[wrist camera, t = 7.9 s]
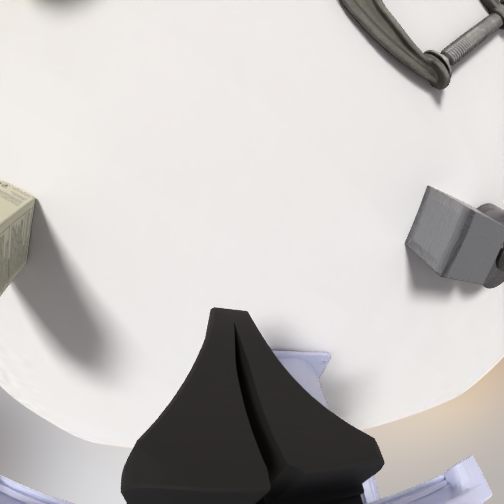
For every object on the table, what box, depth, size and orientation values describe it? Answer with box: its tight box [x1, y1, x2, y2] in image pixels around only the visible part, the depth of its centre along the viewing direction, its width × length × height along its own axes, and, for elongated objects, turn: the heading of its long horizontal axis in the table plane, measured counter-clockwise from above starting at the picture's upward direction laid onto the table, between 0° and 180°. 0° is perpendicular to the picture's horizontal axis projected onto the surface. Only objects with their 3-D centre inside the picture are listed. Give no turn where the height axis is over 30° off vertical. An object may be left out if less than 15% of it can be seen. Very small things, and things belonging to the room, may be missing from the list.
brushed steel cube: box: [405, 186, 504, 285], centre depth 19 cm, size 6×5×5 cm
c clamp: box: [341, 0, 504, 90], centre depth 12 cm, size 20×17×3 cm
